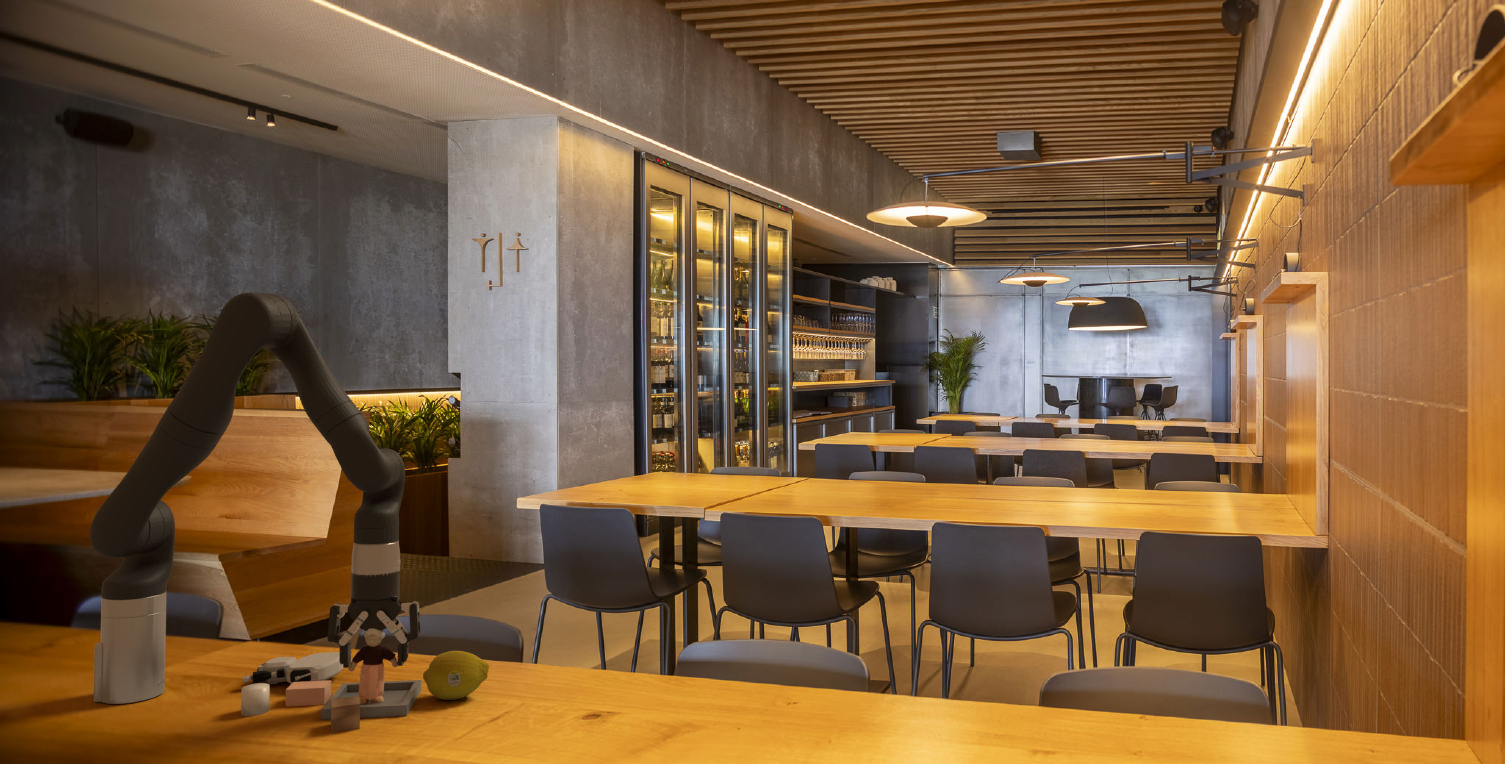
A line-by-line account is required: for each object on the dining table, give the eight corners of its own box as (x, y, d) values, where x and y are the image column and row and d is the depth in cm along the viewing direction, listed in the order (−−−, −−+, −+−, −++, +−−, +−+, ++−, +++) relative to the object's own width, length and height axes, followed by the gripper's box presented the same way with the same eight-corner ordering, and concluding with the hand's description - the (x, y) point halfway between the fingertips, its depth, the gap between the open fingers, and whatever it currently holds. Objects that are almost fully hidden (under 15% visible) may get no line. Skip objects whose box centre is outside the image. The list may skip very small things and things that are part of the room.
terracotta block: (285, 707, 151) (285, 689, 151) (293, 699, 155) (293, 682, 155) (324, 705, 152) (324, 687, 152) (330, 698, 156) (331, 680, 156)
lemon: (415, 706, 152) (416, 658, 152) (431, 690, 160) (431, 645, 160) (480, 706, 152) (481, 658, 152) (493, 691, 160) (494, 645, 160)
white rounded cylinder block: (237, 717, 146) (237, 691, 146) (246, 708, 150) (246, 684, 150) (264, 715, 147) (264, 690, 147) (272, 707, 151) (273, 682, 151)
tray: (320, 720, 145) (321, 709, 145) (342, 693, 158) (342, 683, 158) (406, 715, 147) (407, 705, 147) (421, 689, 160) (421, 680, 160)
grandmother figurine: (349, 708, 149) (350, 630, 149) (347, 700, 153) (348, 624, 153) (399, 701, 153) (400, 625, 153) (396, 694, 156) (397, 620, 156)
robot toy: (237, 697, 158) (321, 693, 157) (236, 671, 158) (320, 667, 157) (278, 675, 170) (356, 672, 169) (276, 651, 170) (355, 647, 170)
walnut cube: (331, 733, 140) (331, 707, 140) (330, 724, 143) (331, 699, 143) (359, 729, 142) (360, 703, 142) (358, 721, 145) (358, 695, 145)
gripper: (324, 574, 148) (322, 674, 148) (416, 572, 150) (414, 670, 150) (336, 565, 155) (335, 660, 155) (424, 563, 158) (422, 657, 158)
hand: (374, 665), depth 153 cm, fingers open, 8 cm apart
